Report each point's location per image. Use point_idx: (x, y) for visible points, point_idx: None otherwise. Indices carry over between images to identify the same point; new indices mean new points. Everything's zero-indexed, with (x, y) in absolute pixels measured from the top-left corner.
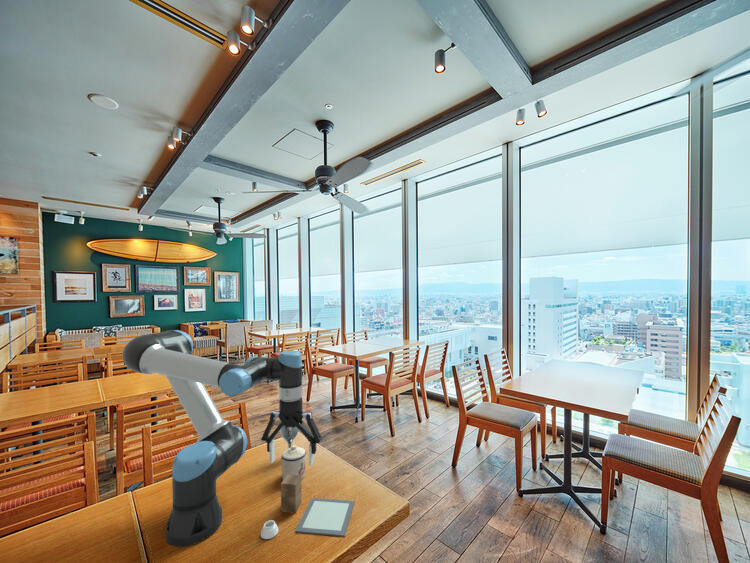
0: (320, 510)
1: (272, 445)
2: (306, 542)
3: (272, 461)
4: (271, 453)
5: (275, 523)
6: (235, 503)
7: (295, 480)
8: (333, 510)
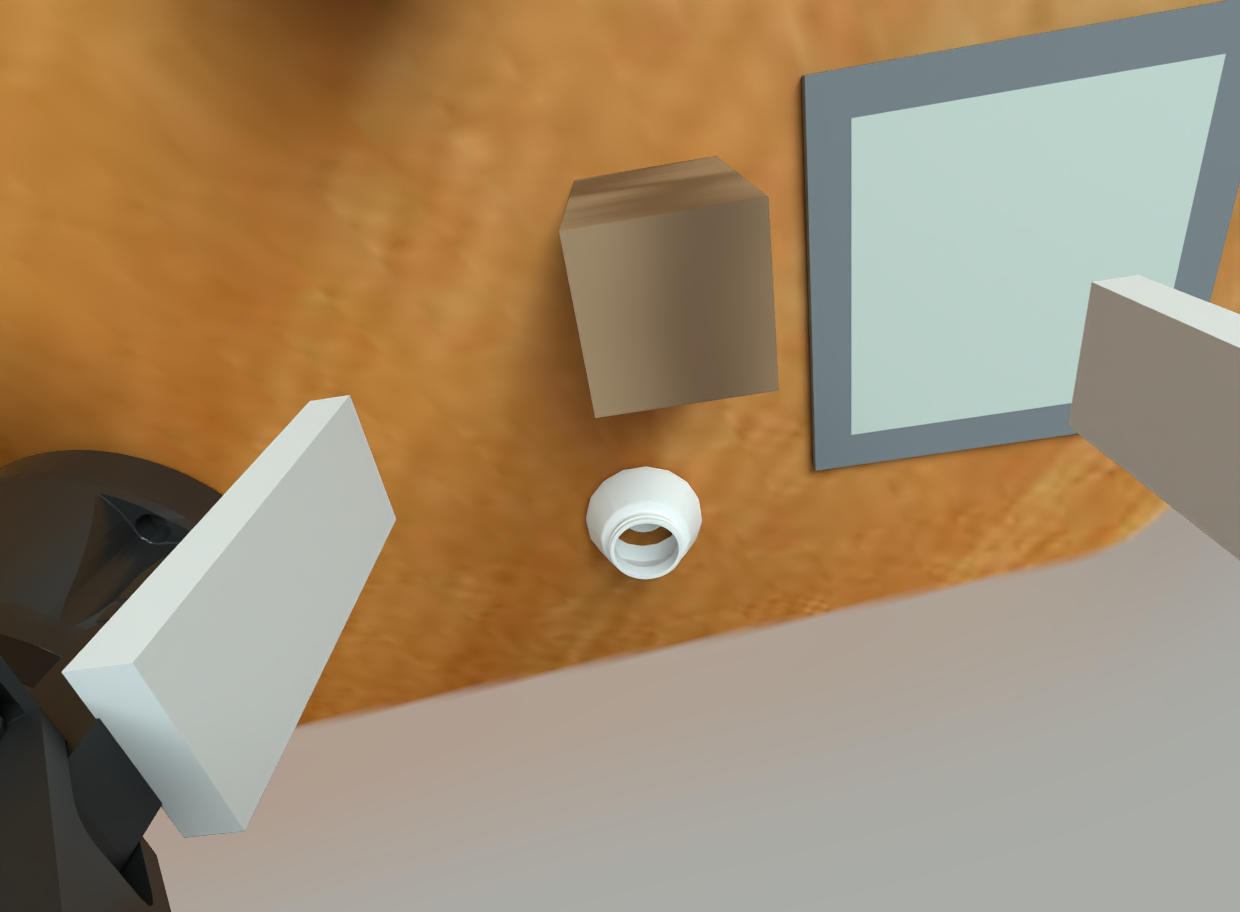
0: (945, 231)
1: (259, 730)
2: (917, 513)
3: (381, 505)
4: (336, 638)
5: (671, 509)
6: (150, 336)
7: (739, 319)
8: (1068, 199)
